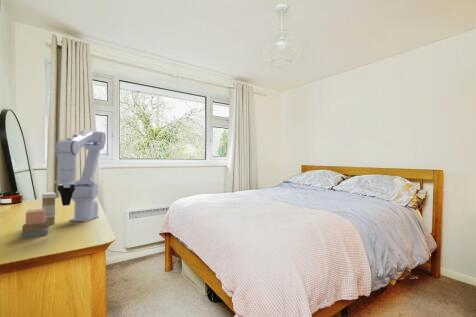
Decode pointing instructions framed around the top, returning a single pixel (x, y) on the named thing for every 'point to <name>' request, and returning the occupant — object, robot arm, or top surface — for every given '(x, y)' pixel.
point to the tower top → (35, 227)
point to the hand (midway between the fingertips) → (65, 203)
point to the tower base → (35, 233)
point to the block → (35, 216)
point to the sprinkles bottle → (49, 206)
